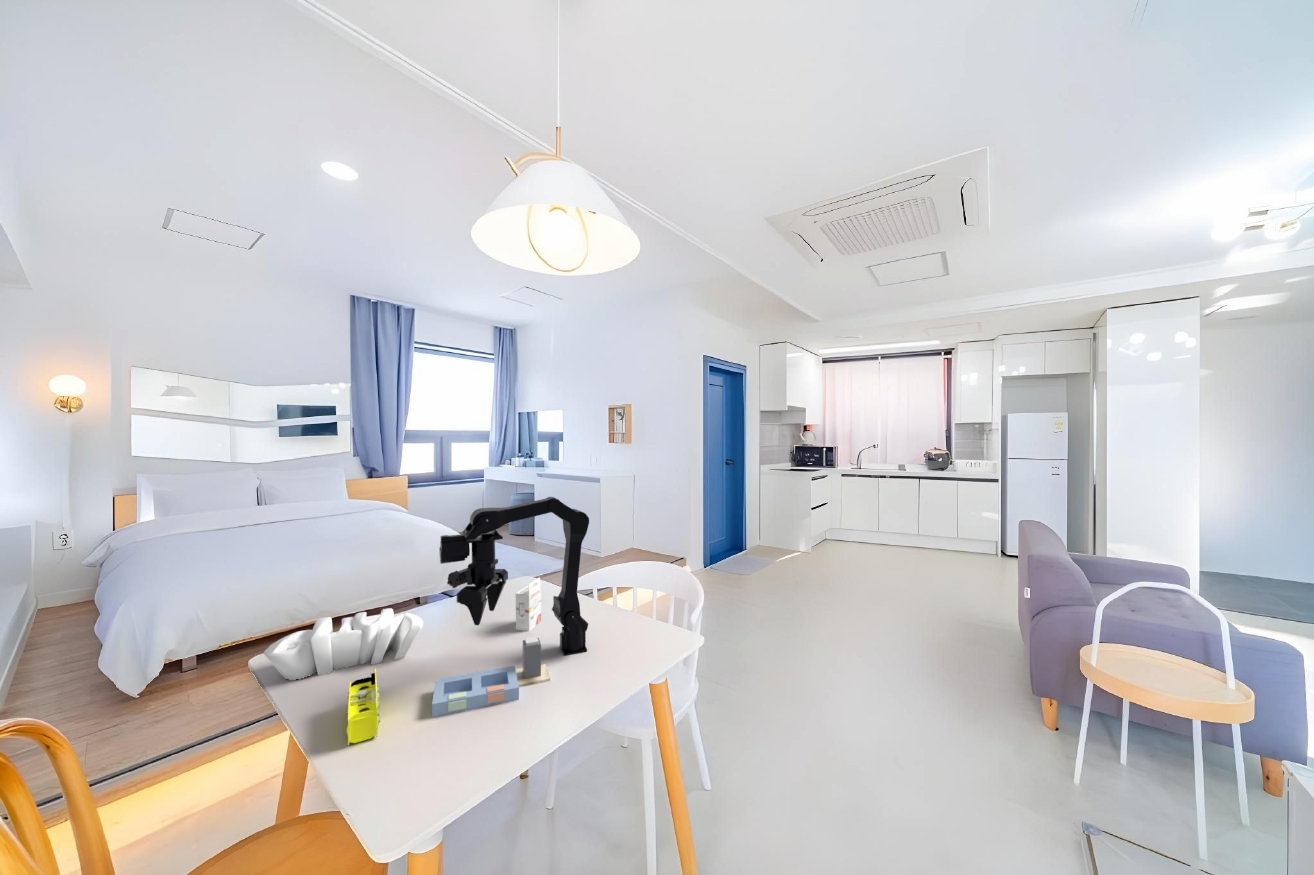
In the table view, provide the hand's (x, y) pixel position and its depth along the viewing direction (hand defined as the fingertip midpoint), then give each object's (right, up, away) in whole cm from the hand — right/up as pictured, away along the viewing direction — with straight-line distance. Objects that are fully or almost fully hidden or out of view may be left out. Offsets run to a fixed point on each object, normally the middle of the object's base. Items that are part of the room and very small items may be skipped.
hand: (484, 617), depth 119 cm
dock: (+3, -14, -12) cm, 18 cm away
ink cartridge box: (+3, -14, +28) cm, 32 cm away
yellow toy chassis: (-17, -14, -22) cm, 31 cm away
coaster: (+13, -14, -3) cm, 19 cm away
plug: (+13, -13, -3) cm, 19 cm away
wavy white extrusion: (-38, -14, +5) cm, 41 cm away
